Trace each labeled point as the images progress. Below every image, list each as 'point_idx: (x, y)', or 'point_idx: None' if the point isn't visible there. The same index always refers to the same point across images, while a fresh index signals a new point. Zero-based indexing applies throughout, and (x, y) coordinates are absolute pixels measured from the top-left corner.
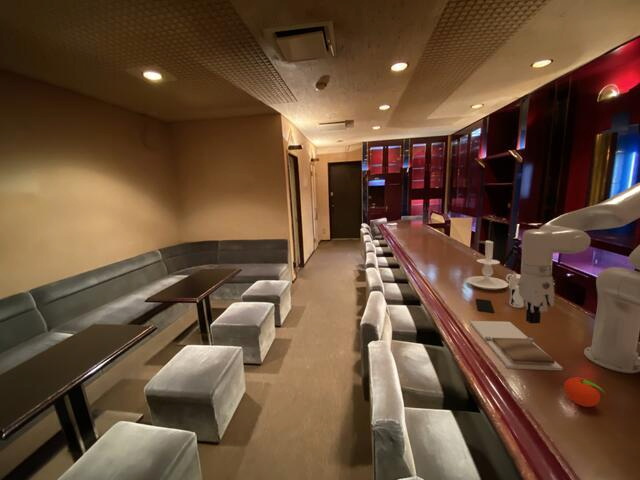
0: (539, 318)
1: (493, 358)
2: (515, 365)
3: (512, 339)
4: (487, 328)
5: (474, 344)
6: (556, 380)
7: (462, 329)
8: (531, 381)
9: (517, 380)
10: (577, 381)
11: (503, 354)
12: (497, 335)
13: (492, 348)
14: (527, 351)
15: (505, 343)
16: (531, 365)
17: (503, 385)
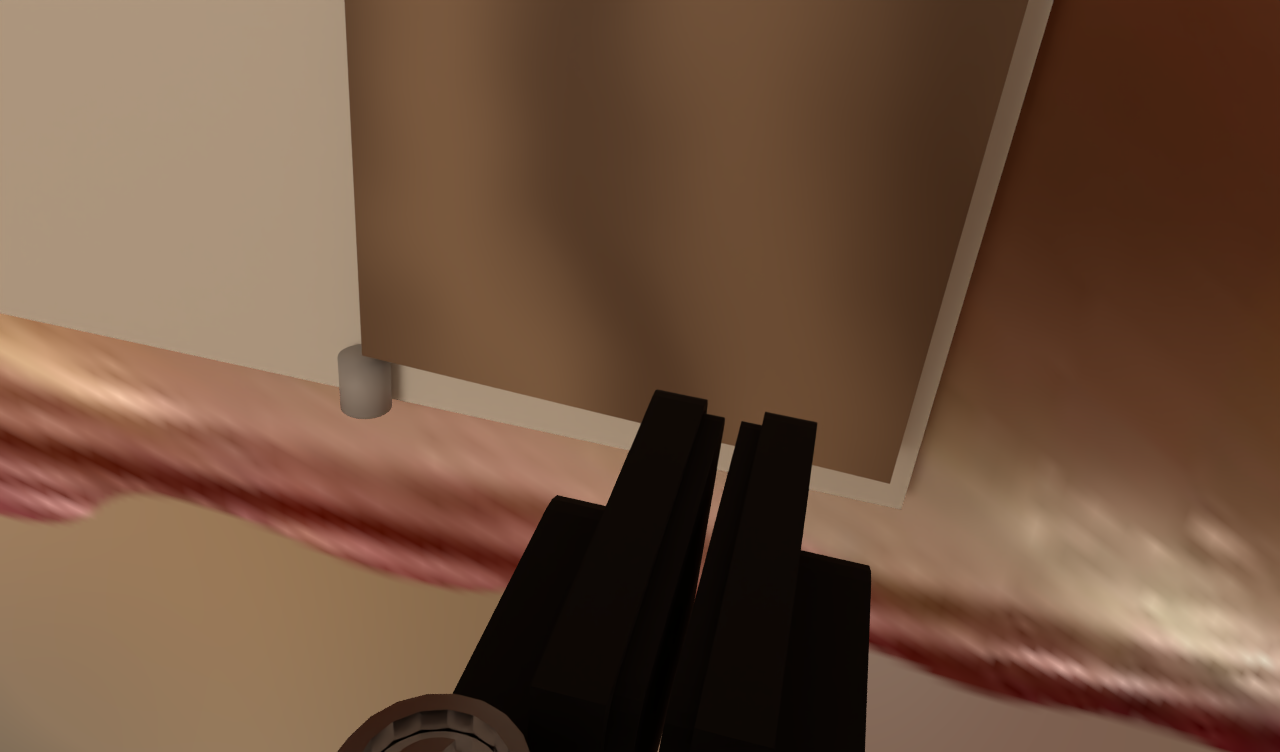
0: (801, 535)
1: None
2: (915, 431)
3: (388, 118)
4: (78, 196)
5: (442, 513)
6: (1256, 104)
7: (136, 448)
8: (1171, 413)
9: (1112, 532)
10: None
11: None
12: (244, 182)
13: (546, 426)
14: (728, 159)
15: (506, 299)
16: None
17: (1140, 692)
